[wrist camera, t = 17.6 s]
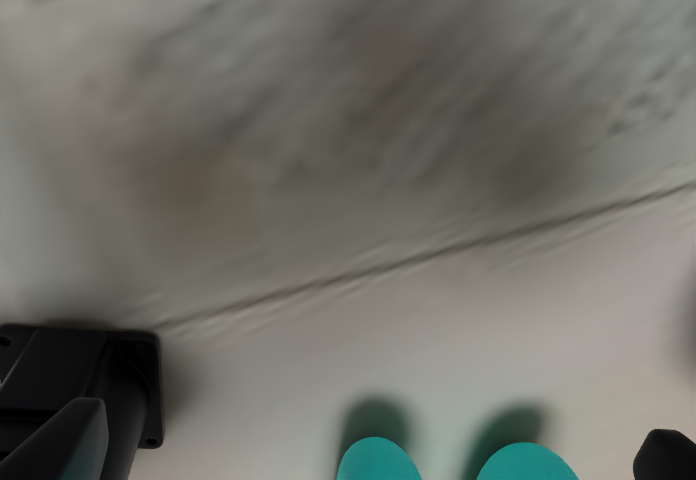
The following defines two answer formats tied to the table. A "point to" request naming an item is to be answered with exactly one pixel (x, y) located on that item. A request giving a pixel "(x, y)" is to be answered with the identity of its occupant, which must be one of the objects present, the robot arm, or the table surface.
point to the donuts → (496, 476)
